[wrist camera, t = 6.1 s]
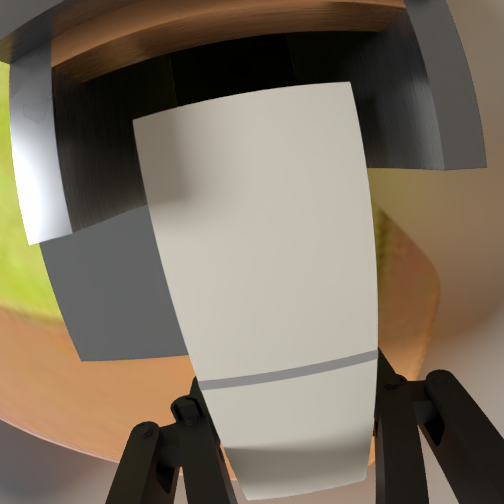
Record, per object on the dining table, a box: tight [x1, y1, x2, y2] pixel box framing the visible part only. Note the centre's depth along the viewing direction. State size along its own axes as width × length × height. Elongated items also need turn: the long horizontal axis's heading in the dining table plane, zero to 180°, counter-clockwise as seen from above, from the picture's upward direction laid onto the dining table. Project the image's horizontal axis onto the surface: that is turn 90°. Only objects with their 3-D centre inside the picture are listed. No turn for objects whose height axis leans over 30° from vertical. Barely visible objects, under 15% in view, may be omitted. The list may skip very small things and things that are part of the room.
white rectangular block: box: [132, 82, 378, 500], centre depth 13 cm, size 5×14×10 cm, turn 10°
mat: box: [39, 204, 189, 361], centre depth 17 cm, size 9×16×1 cm, turn 10°
